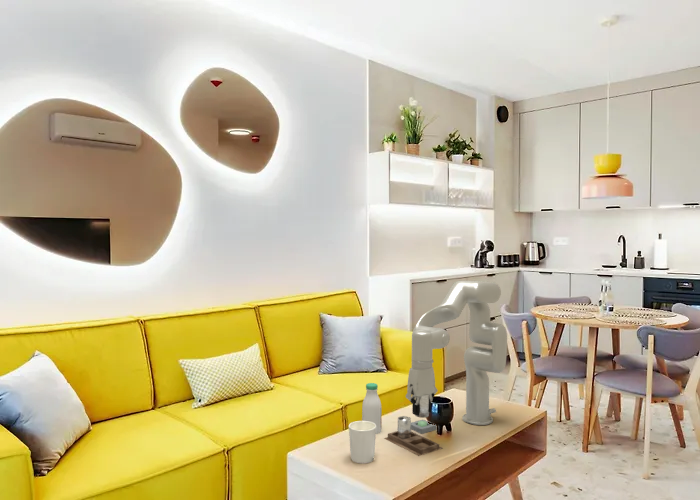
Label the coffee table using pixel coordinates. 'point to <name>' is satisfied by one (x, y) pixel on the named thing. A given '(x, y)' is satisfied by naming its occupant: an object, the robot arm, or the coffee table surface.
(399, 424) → the cylinder
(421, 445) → the brown cruet tray
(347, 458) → the coffee table surface
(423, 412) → the silver rounded cylinder
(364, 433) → the white cup
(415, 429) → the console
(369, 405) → the milk bottle
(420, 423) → the button
